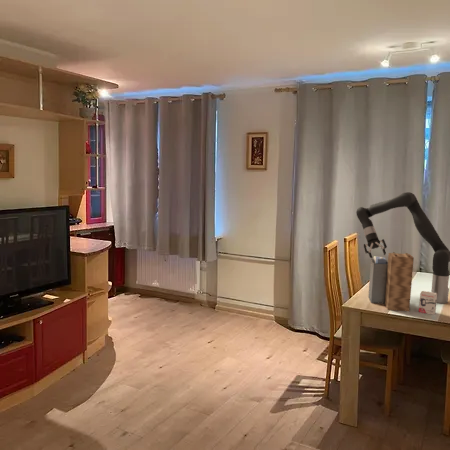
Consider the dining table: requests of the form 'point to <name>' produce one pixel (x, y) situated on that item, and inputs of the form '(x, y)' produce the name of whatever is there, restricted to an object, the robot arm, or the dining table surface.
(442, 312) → the dining table surface
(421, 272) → the dining table surface
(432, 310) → the ink box
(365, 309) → the dining table surface
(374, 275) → the tray
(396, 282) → the stand
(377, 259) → the cream rectangular block
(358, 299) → the dining table surface
